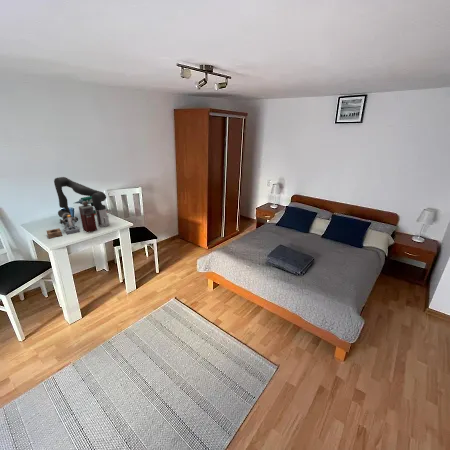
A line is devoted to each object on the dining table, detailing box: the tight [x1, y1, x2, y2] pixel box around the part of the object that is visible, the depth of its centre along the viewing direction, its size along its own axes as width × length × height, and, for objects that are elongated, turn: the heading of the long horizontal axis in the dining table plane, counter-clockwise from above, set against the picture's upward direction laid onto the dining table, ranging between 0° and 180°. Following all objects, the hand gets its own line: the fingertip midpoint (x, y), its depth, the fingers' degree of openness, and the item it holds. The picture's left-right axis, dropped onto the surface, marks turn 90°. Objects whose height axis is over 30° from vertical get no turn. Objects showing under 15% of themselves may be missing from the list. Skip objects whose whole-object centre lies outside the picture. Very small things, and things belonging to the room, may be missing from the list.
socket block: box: [64, 225, 80, 235], centre depth 224 cm, size 10×10×3 cm
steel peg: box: [67, 214, 75, 230], centre depth 221 cm, size 3×3×16 cm
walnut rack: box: [46, 227, 63, 239], centre depth 215 cm, size 10×10×4 cm
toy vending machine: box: [78, 201, 98, 233], centre depth 223 cm, size 9×11×28 cm
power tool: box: [74, 196, 108, 216], centre depth 264 cm, size 32×7×20 cm, turn 143°
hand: (70, 222), depth 221 cm, fingers open, 8 cm apart
